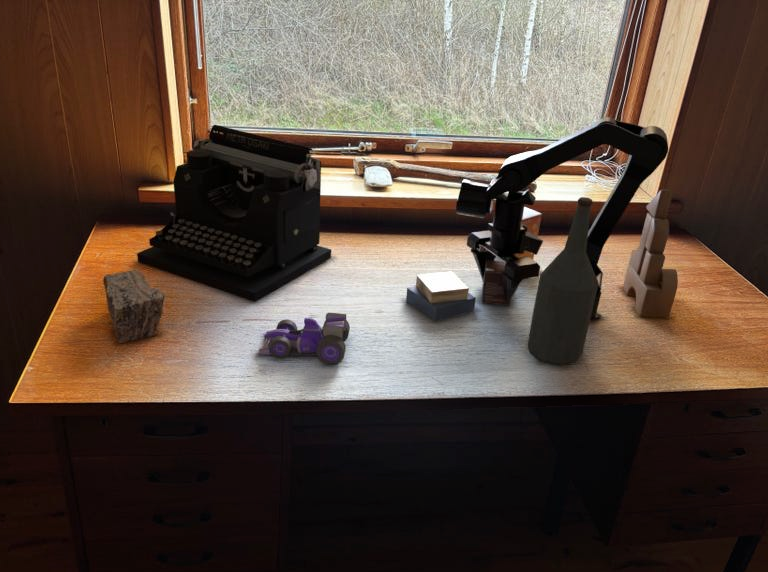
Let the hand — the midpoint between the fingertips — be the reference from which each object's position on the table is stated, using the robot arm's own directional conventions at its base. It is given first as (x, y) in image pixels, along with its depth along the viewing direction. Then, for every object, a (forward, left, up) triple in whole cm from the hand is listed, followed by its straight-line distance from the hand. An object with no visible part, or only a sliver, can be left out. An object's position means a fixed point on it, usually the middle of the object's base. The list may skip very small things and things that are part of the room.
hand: (496, 291), depth 156 cm
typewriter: (+35, +45, -2) cm, 57 cm away
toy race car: (-6, +45, -2) cm, 45 cm away
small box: (+13, -13, -2) cm, 18 cm away
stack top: (+1, +13, +1) cm, 13 cm away
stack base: (+1, +13, -2) cm, 13 cm away
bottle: (-23, +2, -2) cm, 23 cm away
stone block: (+13, +70, -2) cm, 71 cm away
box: (0, 0, -2) cm, 2 cm away
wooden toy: (-12, -31, -2) cm, 33 cm away
